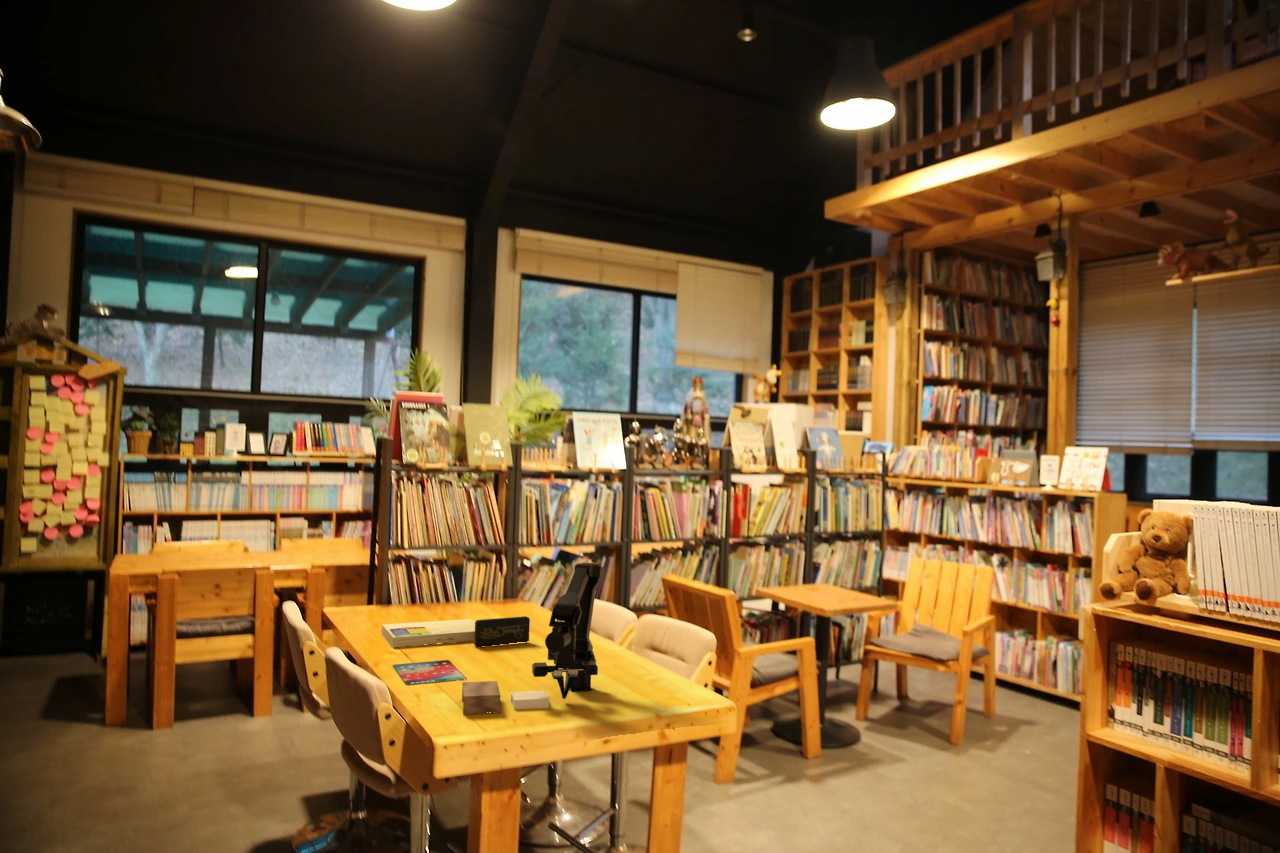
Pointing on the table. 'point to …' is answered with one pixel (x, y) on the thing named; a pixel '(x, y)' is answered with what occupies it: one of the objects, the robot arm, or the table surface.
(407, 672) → the tablet
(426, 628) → the puzzle box
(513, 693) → the beige block
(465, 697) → the wood grain block
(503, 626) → the nameplate
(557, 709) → the table surface
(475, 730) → the table surface
